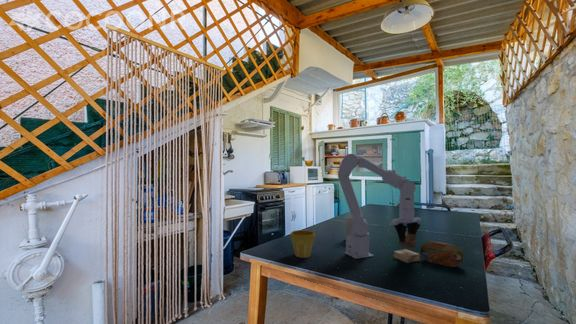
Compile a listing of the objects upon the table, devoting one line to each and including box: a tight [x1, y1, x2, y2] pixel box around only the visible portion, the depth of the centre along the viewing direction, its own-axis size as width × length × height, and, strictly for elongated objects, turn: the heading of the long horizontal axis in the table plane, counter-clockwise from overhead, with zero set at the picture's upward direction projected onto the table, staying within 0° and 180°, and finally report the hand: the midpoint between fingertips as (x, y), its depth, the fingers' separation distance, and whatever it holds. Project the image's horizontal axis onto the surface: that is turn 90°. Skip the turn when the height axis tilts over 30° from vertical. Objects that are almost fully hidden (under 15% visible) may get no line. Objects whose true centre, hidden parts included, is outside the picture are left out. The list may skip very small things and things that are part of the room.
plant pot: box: [290, 229, 316, 259], centre depth 116 cm, size 10×10×10 cm
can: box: [344, 216, 354, 240], centre depth 140 cm, size 8×8×12 cm
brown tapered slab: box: [419, 240, 465, 268], centre depth 108 cm, size 15×3×8 cm, turn 48°
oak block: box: [393, 248, 421, 264], centre depth 113 cm, size 7×7×3 cm
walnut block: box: [398, 231, 417, 249], centre depth 112 cm, size 4×4×5 cm
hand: (406, 240), depth 113 cm, fingers closed on walnut block, 4 cm apart
